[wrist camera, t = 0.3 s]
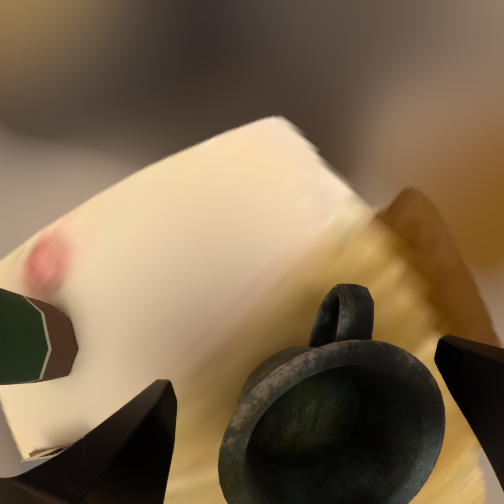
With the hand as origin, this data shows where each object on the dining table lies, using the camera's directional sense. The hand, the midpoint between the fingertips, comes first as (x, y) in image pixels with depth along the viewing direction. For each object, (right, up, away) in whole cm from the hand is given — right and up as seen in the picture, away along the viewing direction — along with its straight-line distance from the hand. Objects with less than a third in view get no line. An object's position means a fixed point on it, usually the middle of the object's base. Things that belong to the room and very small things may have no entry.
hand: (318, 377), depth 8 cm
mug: (+2, -7, +13) cm, 15 cm away
